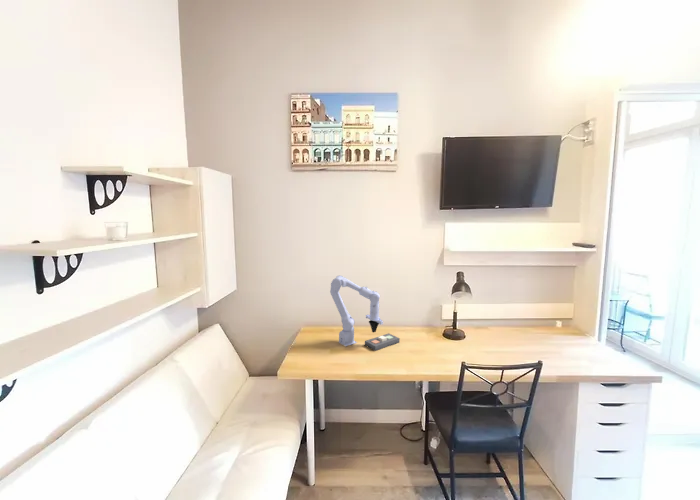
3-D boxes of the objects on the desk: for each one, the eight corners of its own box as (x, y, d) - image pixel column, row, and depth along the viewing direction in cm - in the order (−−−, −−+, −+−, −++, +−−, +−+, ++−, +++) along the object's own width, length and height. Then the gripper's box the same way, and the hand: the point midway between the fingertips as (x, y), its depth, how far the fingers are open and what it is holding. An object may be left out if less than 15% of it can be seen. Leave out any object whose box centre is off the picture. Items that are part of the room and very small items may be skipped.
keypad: (375, 351, 203) (375, 346, 202) (364, 345, 211) (364, 340, 210) (399, 342, 215) (399, 338, 215) (388, 337, 223) (388, 333, 223)
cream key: (382, 341, 210) (382, 339, 210) (378, 339, 213) (378, 337, 213) (386, 340, 212) (386, 337, 212) (382, 338, 215) (382, 335, 215)
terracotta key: (375, 346, 206) (375, 343, 206) (370, 343, 210) (371, 341, 209) (379, 344, 209) (379, 341, 209) (375, 342, 212) (375, 339, 212)
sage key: (389, 341, 214) (389, 338, 213) (384, 339, 217) (384, 336, 217) (393, 339, 216) (393, 337, 216) (389, 337, 219) (389, 335, 219)
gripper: (387, 313, 205) (386, 334, 207) (371, 307, 217) (371, 327, 219) (378, 315, 201) (377, 336, 203) (363, 309, 213) (363, 329, 215)
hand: (373, 331), depth 211 cm, fingers closed
